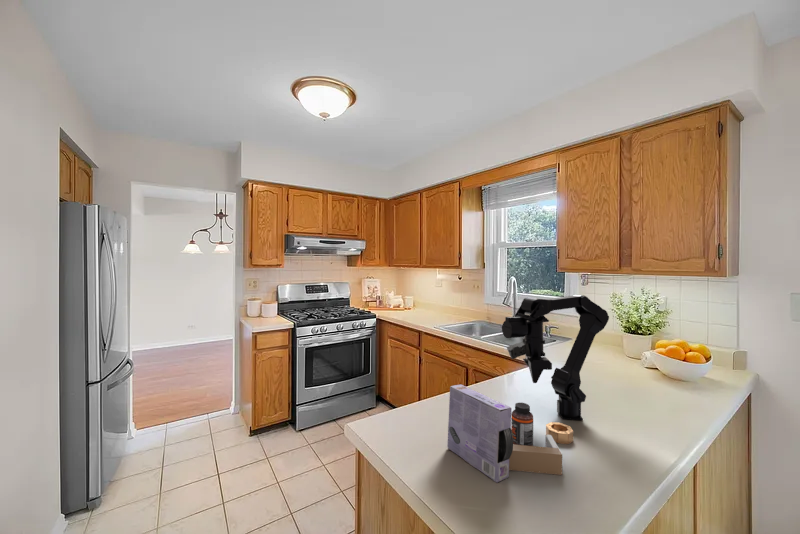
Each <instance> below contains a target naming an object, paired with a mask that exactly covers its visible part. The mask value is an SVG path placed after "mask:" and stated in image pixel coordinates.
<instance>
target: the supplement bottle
mask: <svg viewBox="0 0 800 534" xmlns="http://www.w3.org/2000/svg"><path fill="white" fill-rule="evenodd" d="M511 430H512V435H513V445H526V446H534V415H533V413H532V412H531V405H530V404H528V403H525V402H516V403H515V404H514V409H513V410H511Z"/></svg>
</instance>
